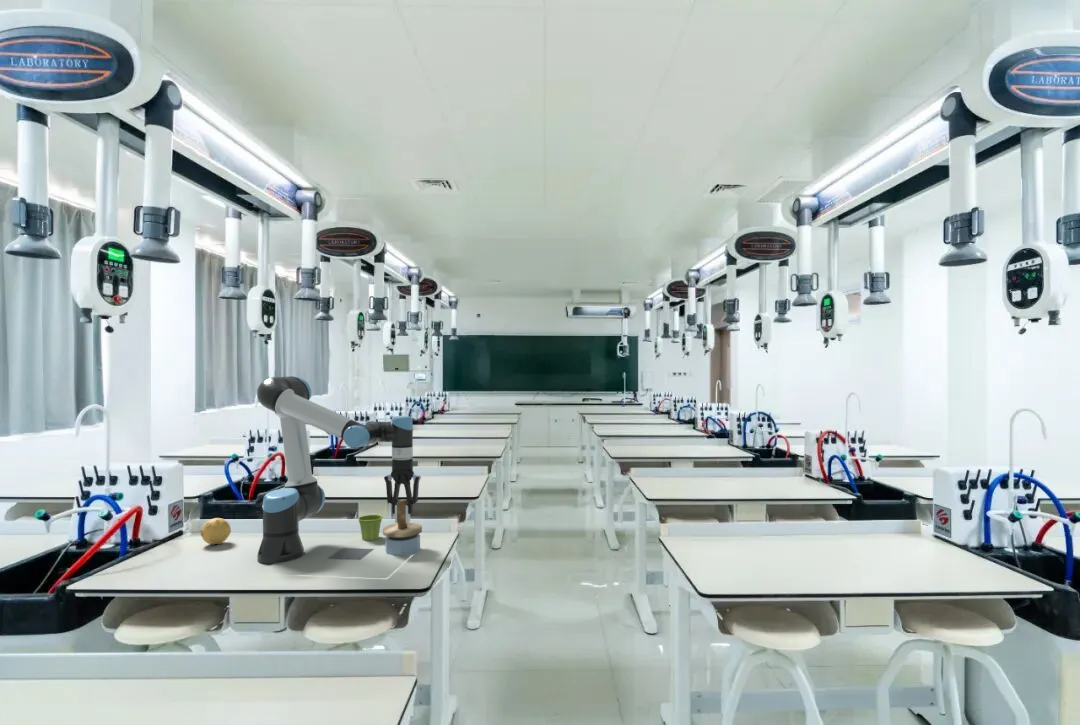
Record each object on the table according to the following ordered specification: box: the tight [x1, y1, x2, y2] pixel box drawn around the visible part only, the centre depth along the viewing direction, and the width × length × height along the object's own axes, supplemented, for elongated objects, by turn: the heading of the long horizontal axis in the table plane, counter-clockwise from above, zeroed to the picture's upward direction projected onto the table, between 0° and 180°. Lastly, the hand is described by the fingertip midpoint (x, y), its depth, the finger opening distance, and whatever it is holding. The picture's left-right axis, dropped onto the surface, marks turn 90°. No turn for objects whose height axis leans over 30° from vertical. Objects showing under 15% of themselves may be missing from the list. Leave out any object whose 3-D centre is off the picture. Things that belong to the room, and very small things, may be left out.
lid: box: [382, 499, 423, 537], centre depth 212 cm, size 14×14×12 cm
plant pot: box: [357, 514, 383, 542], centre depth 227 cm, size 9×9×9 cm
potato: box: [200, 517, 232, 545], centre depth 221 cm, size 10×10×10 cm
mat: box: [327, 547, 375, 561], centre depth 207 cm, size 12×12×1 cm
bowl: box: [384, 533, 421, 556], centre depth 211 cm, size 12×12×6 cm
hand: (402, 522), depth 212 cm, fingers closed on lid, 3 cm apart
